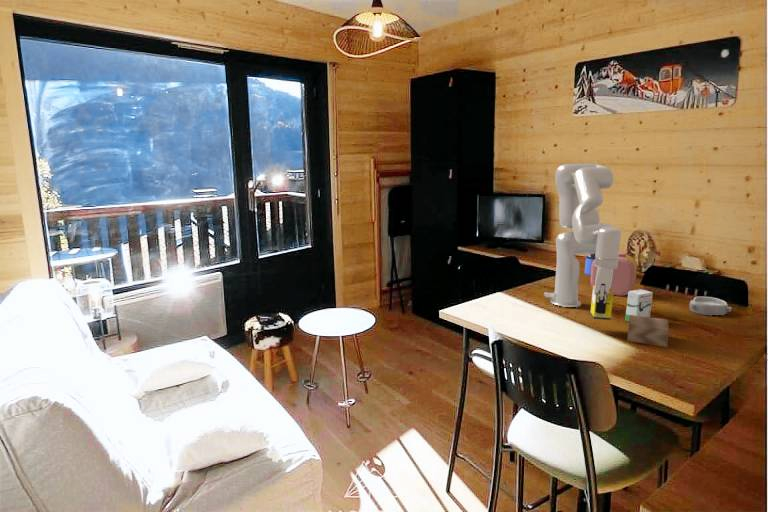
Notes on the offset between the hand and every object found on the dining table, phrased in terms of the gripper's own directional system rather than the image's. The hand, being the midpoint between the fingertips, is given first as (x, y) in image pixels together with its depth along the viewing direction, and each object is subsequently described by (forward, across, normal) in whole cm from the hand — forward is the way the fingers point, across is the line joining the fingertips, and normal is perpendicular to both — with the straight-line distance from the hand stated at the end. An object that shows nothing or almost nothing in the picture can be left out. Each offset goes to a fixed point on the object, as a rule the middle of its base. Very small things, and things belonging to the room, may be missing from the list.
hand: (601, 309), depth 177 cm
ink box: (+9, -19, +12) cm, 24 cm away
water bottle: (+11, -98, -10) cm, 99 cm away
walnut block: (+8, +1, +16) cm, 17 cm away
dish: (+9, -46, +38) cm, 61 cm away
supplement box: (+3, 0, 0) cm, 3 cm away
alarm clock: (+10, -60, +2) cm, 61 cm away
